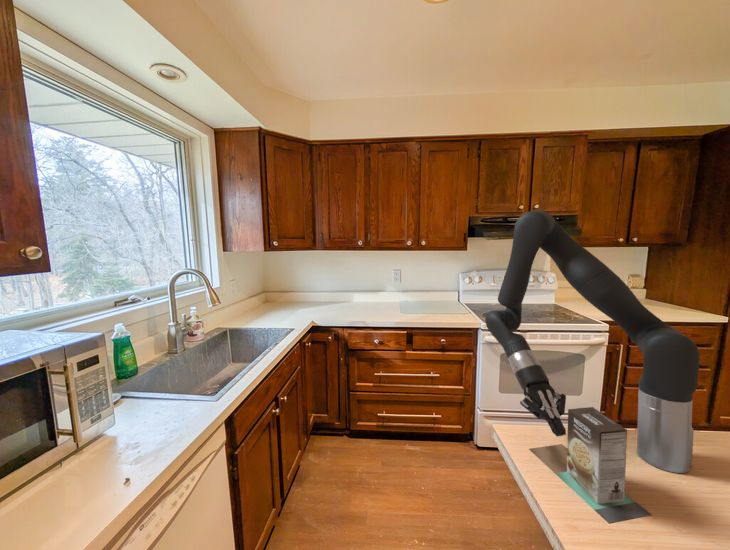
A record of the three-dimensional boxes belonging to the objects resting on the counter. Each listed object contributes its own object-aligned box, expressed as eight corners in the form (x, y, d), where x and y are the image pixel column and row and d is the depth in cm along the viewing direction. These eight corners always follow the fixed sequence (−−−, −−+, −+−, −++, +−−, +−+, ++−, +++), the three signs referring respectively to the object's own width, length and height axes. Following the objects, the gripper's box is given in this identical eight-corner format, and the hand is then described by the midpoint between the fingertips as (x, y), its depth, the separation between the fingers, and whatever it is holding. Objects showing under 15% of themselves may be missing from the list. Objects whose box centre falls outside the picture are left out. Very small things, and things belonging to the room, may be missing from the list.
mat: (561, 445, 79) (561, 444, 79) (652, 516, 58) (652, 514, 58) (528, 449, 78) (528, 448, 78) (608, 524, 56) (608, 523, 56)
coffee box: (564, 472, 69) (565, 407, 68) (590, 470, 70) (591, 406, 69) (597, 505, 60) (599, 431, 59) (626, 502, 61) (629, 429, 59)
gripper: (512, 366, 80) (546, 435, 69) (554, 361, 82) (594, 428, 71) (500, 376, 86) (530, 442, 75) (540, 372, 88) (575, 435, 77)
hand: (561, 435), depth 73 cm, fingers closed
